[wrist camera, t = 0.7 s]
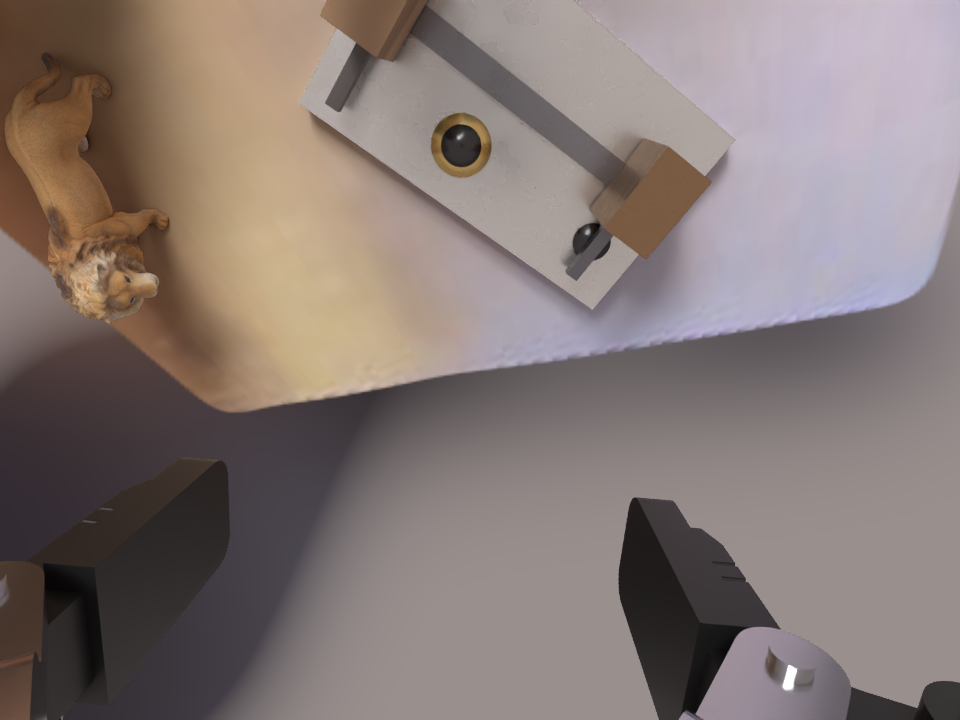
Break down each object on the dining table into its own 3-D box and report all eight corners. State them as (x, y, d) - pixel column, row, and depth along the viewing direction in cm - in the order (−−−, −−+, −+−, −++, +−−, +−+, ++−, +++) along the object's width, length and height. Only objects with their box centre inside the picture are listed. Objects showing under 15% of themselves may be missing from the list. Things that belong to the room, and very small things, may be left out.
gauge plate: (306, 102, 34) (265, 106, 28) (421, -124, 29) (402, -180, 23) (588, 302, 39) (606, 342, 33) (726, 137, 34) (776, 148, 28)
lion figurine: (217, 269, 39) (144, 318, 31) (151, 293, 39) (63, 346, 31) (87, 38, 33) (-47, 21, 25) (13, 71, 33) (-141, 66, 25)
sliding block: (313, 90, 32) (283, 90, 27) (393, -68, 28) (374, -98, 24) (359, 123, 32) (337, 129, 28) (442, -28, 29) (433, -49, 25)
